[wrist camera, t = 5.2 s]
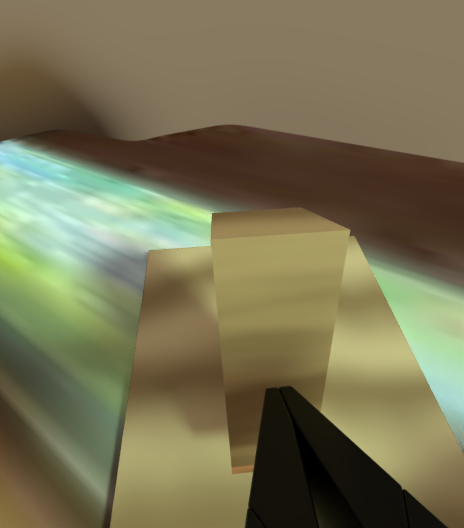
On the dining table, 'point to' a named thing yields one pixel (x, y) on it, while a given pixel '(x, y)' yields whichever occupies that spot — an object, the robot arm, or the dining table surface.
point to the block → (273, 311)
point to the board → (214, 405)
